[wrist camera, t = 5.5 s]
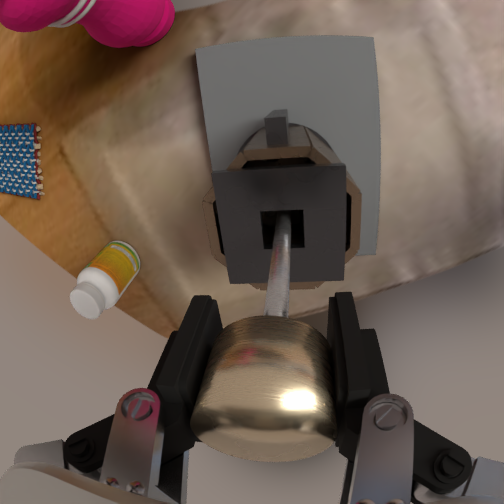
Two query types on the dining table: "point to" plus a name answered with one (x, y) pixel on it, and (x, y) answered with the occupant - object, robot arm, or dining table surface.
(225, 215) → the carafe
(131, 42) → the pepper mill
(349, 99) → the slate board
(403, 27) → the dining table surface
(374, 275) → the dining table surface
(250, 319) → the plunger
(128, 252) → the supplement bottle
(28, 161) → the woven mat
